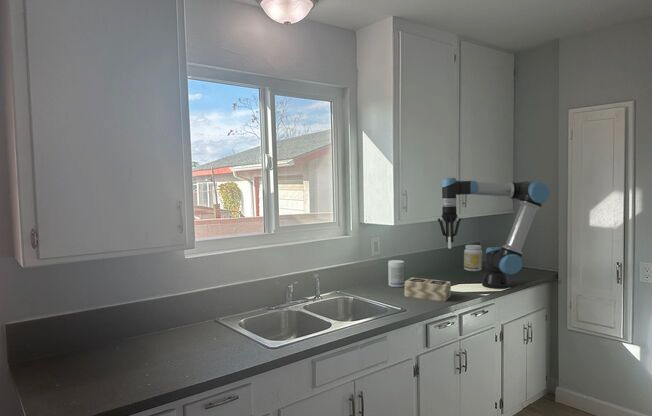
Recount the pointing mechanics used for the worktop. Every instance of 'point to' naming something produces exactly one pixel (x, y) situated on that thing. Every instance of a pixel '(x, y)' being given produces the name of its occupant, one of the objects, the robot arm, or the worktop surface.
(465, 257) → the supplement tub
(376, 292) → the worktop surface
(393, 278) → the supplement tub
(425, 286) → the block
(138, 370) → the worktop surface
